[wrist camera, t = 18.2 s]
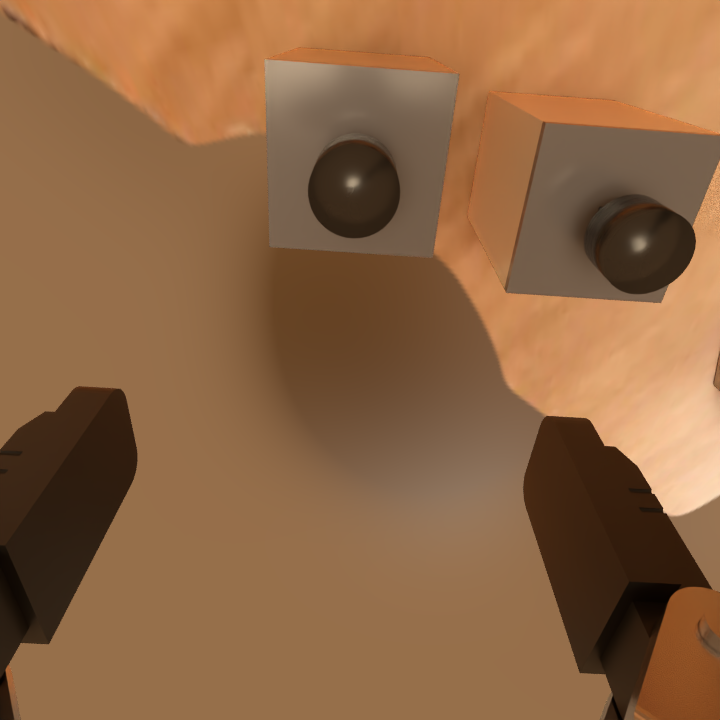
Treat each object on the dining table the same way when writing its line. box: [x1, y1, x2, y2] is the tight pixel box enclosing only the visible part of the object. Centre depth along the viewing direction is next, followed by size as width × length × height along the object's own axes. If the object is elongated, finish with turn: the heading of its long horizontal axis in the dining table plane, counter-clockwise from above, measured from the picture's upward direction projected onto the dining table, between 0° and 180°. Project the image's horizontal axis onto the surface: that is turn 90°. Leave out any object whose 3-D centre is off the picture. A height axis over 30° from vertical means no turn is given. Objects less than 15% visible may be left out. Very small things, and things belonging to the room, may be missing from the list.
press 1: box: [264, 47, 459, 258], centre depth 37 cm, size 10×10×16 cm
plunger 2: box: [584, 194, 696, 294], centre depth 35 cm, size 8×8×19 cm
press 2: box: [467, 91, 720, 303], centre depth 38 cm, size 10×10×16 cm
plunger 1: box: [308, 133, 400, 238], centre depth 34 cm, size 8×8×19 cm
